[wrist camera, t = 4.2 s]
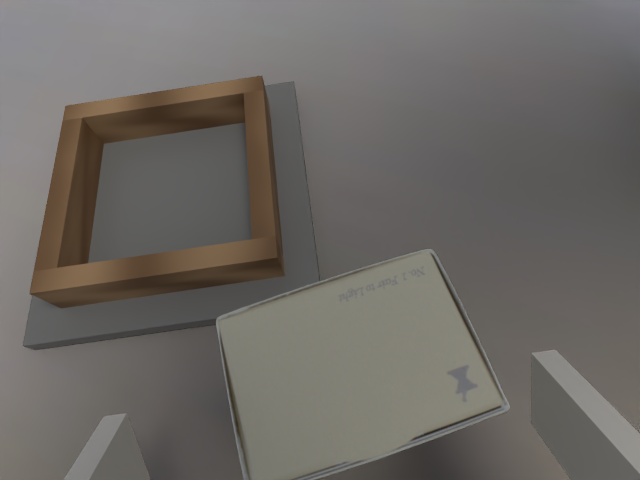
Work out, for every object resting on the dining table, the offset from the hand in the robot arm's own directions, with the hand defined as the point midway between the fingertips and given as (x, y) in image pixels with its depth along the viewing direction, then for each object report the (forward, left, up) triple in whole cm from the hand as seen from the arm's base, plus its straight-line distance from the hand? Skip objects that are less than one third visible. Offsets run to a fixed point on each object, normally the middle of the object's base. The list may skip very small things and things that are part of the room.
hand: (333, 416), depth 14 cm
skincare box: (-1, -1, -8) cm, 8 cm away
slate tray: (+8, -14, -7) cm, 18 cm away
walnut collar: (+8, -14, -7) cm, 18 cm away
